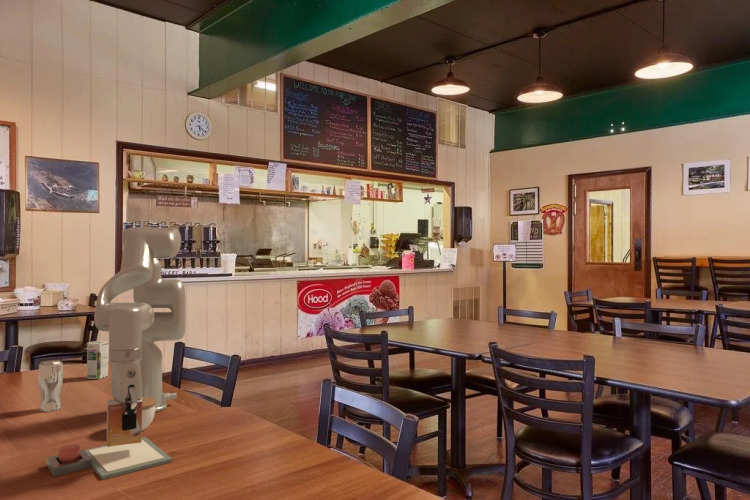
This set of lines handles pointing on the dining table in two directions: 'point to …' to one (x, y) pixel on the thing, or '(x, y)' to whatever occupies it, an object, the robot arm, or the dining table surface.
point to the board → (126, 458)
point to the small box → (115, 424)
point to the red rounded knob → (69, 453)
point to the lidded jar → (147, 411)
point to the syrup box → (97, 359)
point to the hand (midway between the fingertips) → (124, 425)
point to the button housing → (68, 464)
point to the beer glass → (50, 385)
